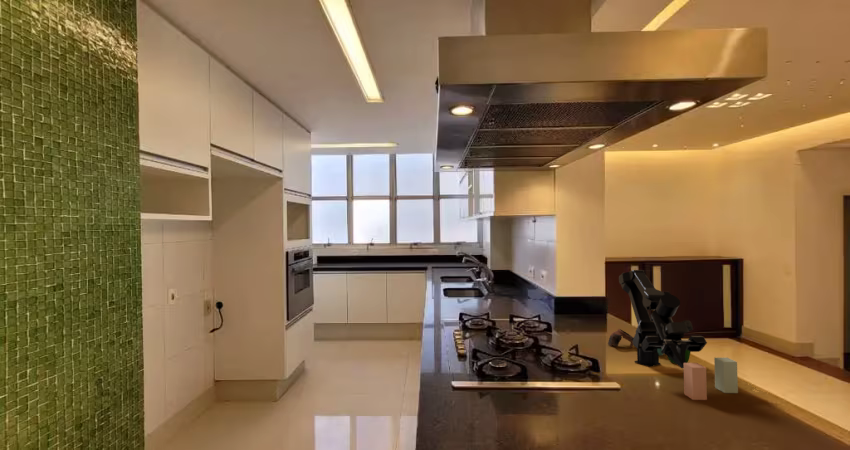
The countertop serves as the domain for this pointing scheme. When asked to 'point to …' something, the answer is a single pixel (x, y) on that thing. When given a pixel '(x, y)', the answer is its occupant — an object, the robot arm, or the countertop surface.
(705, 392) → the terracotta block
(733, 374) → the sage block
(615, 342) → the headphones
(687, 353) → the bell pepper
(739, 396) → the countertop surface
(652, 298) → the robot arm
